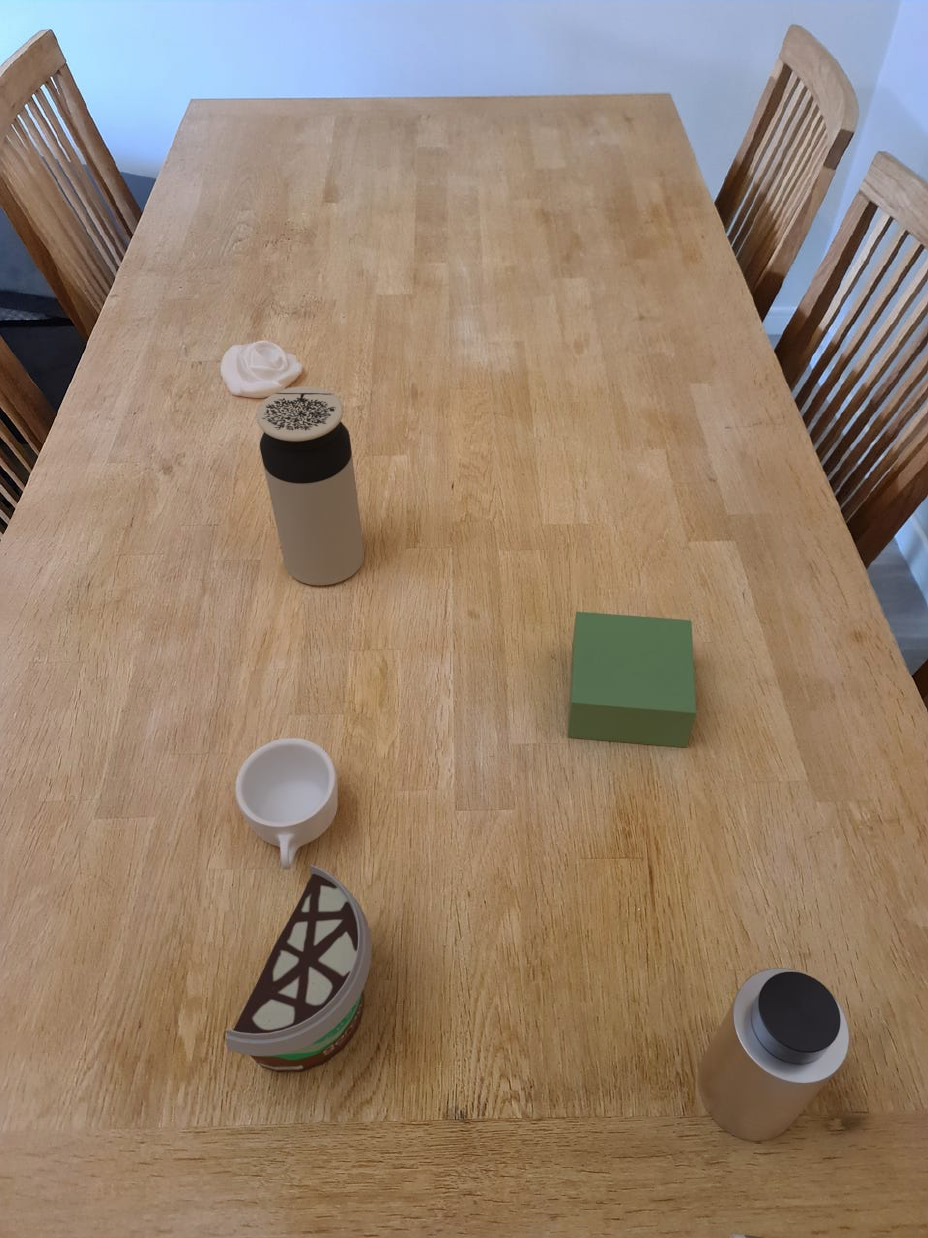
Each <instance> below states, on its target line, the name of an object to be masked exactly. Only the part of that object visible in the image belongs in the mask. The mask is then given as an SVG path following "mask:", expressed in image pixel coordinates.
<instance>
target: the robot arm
mask: <svg viewBox="0 0 928 1238" xmlns="http://www.w3.org/2000/svg"><path fill="white" fill-rule="evenodd" d="M727 1238H763V1237H762V1236H756V1235H755V1236H754V1235H748V1234H740V1233H731V1234H730V1235H729V1236H728V1237H727Z"/></svg>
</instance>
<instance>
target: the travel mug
mask: <svg viewBox="0 0 928 1238" xmlns="http://www.w3.org/2000/svg"><path fill="white" fill-rule="evenodd" d="M344 413H345V411H344V404H343V402H342V400H341V399H340V398H339V397H338V396H337V395H336V394H335V393H333V392H332V391H330V390H328V389H326V388H322V387H318V386H312V385H301V386H292V387H286V388H285V389H284V390H281V391H278V392H276V393H274V394H272V395H271V396H269V397H265V399H264V400H263V401H262V402H261V403H260V404H259V406H258V408H257V411H256V423H257V425H258V427H259V428H260V430H261V431H262V435H261V438H260V441H259V451H260V456H261V460H262V464H263V470H264V475H265V478H266V484H267V488H268V492H269V498H270V502H271V507H272V511H273V516H274V522H275V525H276V530H277V535H278V539H279V544H280V549H281V554H282V558H283V563H284V567H285V569H286V571H287V573H289V575H290V576H292V578H294V579H295V580H297V581H298V582H301V583H303V584H307V585H312V586H330V585H335V584H338V583H340V582H343V581H345V580H347V579H349V578H351V577H352V576H353V575H354V574H356V573H357V571H358V570H359V569H360V568H361V566H362V565H363V563H364V560H365V547H364V538H363V531H362V523H361V515H360V507H359V506H360V505H359V499H358V492H357V491H358V490H357V483H356V476H355V475H356V473H355V467H354V460H353V451H352V443H351V435H350V432H349V430H348V428H347V426H346V425H345V424H344V423H343V422H342V419H343V418H344Z"/></svg>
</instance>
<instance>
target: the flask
mask: <svg viewBox="0 0 928 1238" xmlns="http://www.w3.org/2000/svg"><path fill="white" fill-rule="evenodd" d="M849 1046H850V1029H849V1024H848V1021H847V1018H846V1015H845V1013H844V1010H843V1008H842V1006H841V1004H840V1003H839V1001H838V1000H837V999H836V997H835V996H834V995H833V993H832V992H831V991H830V990H829V989H828V988H827V986H825V985H824V984H823V983H822V982H821V981H819V980H818V979H816V978H815V977H813V976H811V975H808V974H806V973H804V972H801V971H799V970H795V969H792V968H786V967H773V968H767V969H766V968H765V969H763V970H760V971H758V972H756V973H754V974H752V975H750V977H748V978H747V979H746V980H745V981H744V982H743V983H742V984H741V986H740V988H739V989H738V991H737V992H736V995H735V996H734V998H733V1000H732V1002H731V1004H730V1005H729V1007H728V1009H727V1011H726V1014H725V1015H724V1017H723V1019H722V1022H721V1023H720V1026H719V1027H718V1029H717V1030H716V1033H715V1035H714V1036H713V1039H712V1040H711V1042H710V1044H709V1046H708V1048H707V1050H706V1052H705V1054H704V1056H703V1058H702V1060H701V1062H700V1065H699V1069H698V1074H697V1075H698V1077H697V1078H698V1079H697V1083H698V1084H697V1085H698V1090H699V1095H700V1098H701V1101H702V1103H703V1106H704V1107H705V1110H706V1111H707V1113H708V1115H709V1116H710V1117H711V1118H712V1119H713V1121H714V1122H715V1123H716V1124H717V1125H718V1126H719V1127H720V1128H721V1129H723V1130H724V1131H725V1132H727V1133H729V1134H730V1135H732V1136H733V1137H736V1138H739V1139H741V1140H745V1141H750V1142H766V1141H769V1140H773V1139H775V1138H777V1137H779V1136H780V1135H782V1134H784V1132H786V1131H787V1130H788V1128H789V1127H790V1126H791V1125H792V1124H793V1122H794V1121H795V1120H796V1119H797V1118H798V1117H799V1115H800V1114H801V1113H802V1112H804V1110H805V1109H806V1107H807V1106H808V1105H809V1104H810V1103H811V1102H812V1101H813V1099H814V1098H815V1097H816V1096H817V1095H818V1094H819V1093H820V1091H821V1090H822V1089H823V1088H824V1087H825V1086H826V1085H827V1083H828V1082H829V1081H830V1080H831V1079H832V1077H834V1075H835V1074H836V1073H837V1071H838V1070H839V1069H840V1068H841V1067H842V1066H843V1063H844V1062H845V1060H846V1058H847V1055H848V1051H849Z"/></svg>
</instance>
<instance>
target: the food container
mask: <svg viewBox="0 0 928 1238" xmlns="http://www.w3.org/2000/svg"><path fill="white" fill-rule="evenodd" d="M309 868H310V874H311V875H310V878H309V880H308V881H307V883H306V885H305V888H304V890H303V893H302V894H301V896H300V898H299V900H298V902H297V904H296V906H295V907H294V910H293V911H292V914H291V916H290V917H289V919H288V921H287V923H286V925H285V926H284V928H283V929H282V931H281V933H280V934H279V937H278V938H277V940H276V942H275V944H274V945H273V947H272V949H271V952H270V953H269V956H268V958H267V960H266V962H265V965H264V967H263V969H262V972H261V973H260V975H259V977H258V980H257V982H256V984H255V986H254V988H253V989H252V992H251V994H250V995H249V998H248V1000H247V1001H246V1004H245V1006H244V1008H243V1010H242V1012H241V1014H240V1016H239V1018H238V1019H237V1021H236V1024H235V1025H234V1027H233V1029H230V1028H225V1030H224V1031H225V1032H226V1035H225V1036H224V1038H225V1044H226V1050H227V1051H229V1052H231V1053H232V1052H233V1053H236V1054H239V1055H244V1056H245V1055H246V1056H249V1057H250V1058H252V1060H254V1062H256V1064H258V1065H259V1067H261V1068H263V1069H265V1070H269V1071H273V1072H275V1073H303V1072H305V1071H308V1070H311V1069H314V1068H317V1067H320V1066H322V1065H325V1064H326V1063H327V1062H328V1061H330V1060H331V1059H332V1058H334V1057H335V1056H337V1055H338V1054H340V1053H341V1052H342V1051H343V1050H344V1049H345V1048H346V1046H347V1045H348V1044H349V1043H350V1041H351V1040H352V1038H354V1035H355V1034H356V1032H357V1030H358V1028H359V1026H360V1023H361V1020H362V1017H363V1012H364V1008H365V1007H364V1006H365V985H366V984H367V983H366V982H367V980H368V978H369V977H368V976H369V974H370V969H371V963H372V956H373V955H372V952H373V949H372V948H373V947H372V946H373V943H372V936H371V935H372V934H371V929H370V926H369V923H368V919H367V917H366V914H365V912H364V911H363V909H362V907H361V905H360V903H359V902H358V900H357V899H356V898H355V897H354V895H353V894H352V893H351V892H350V890H349V889H348V888H347V887H346V885H345V884H343V883H342V881H340V880H339V879H338V878H337V877H336V876H334V875H333V874H331V873H330V872H328V871H327V870H325V869H323V868H320V867H318V866H316V865H313V864H309Z"/></svg>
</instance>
